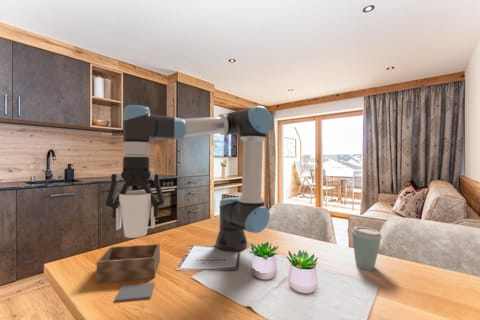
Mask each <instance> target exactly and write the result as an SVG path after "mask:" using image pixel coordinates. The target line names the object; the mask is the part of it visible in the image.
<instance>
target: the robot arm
mask: <svg viewBox="0 0 480 320" xmlns="http://www.w3.org/2000/svg"><path fill="white" fill-rule="evenodd" d="M273 123H274V122H273V117H272V115H271V113H270V112H269V110H268V108H266V107H265V106H262V105H257V106H253V105H252V106H250V107H247V108H242V109H238V110H235V111H231V112H228V113H220V114H218V116H209V117H208V116H207V117H191V118H179V117H176V116H174V117H173V116H166V115H157V114H152V113H151V110H150V108H149V107H148V106H144V105H140V104H139V105H138V104H129V105H126V106H125V107H124V108H123V118H122V127H123V128H122V130H123V131H122V137H123V139H122V141H123V142H122V155H124V156H123V158H122V172H121V173H113V174H111V176H110V177H111V184H110V187H109V191H108V195H107V199H106V202H105V206H106V207H110V208H112V219H115V231H118V230H121V228H122V214H121V207H120V202H119V194H123V195H125V193H126V192H128V190H129V189H130V187H135V186H136V187H142V189H144V190H143V191H145V192H146V193H147V194H148V193H151V205H152V206H151V207H150V229H154V228H155V226H156V218H158V216H159V207H160V206H163V205H164V203H165V199H164V194H163V192H162V191H163V190H162V186H161V184H160V183H161V182H160V173H152V172H151V171H150V157H149V155H150V142H156V141H162V140H163V141H164V140H174V141H175V140H183V139H184V138H189V137H198V136H199V137H200V136H208V135H217V134H220V135H221V136H225V135H226V136H229V135H231V136H232V135H234V136H235V135H236V136H239V139H240V140H241V141H242V172H241V174H242V177H241V196H238V197H224V198H222V199H221V200H220V202H219V231H218V234H217V237H216V240H215V247H216V248H217V249H219V250H222V251H225V252H236V251H241V250H244V249H246V248H247V246H248V240H247V236H246V233H245V231H246V232H249V233H252V234H259V233H261V232H263V231H264V230H265V229H266V227H267V226H268V224H269V222H270V218H271V214H270V211H269V209H268V208H267V207H266V206H265V199H264V198H263V197H262V186H263V185H262V183H263V182H262V181H263V180H262V179H263V148H264V146H263V145H264V144H263V143H264V142H265V140H267V134H268V133H269V132H270V131H271V129H272V127H273ZM121 178H122V179H123V181H124V184H123V185H122V188H121V190H120V191H119V193H118V195H117V196H116V192H117V189H118V185H119V181H120V180H121ZM150 178H151V180H152V181H153V184H154V186H155V192H156V195H157V196H155V194H154V192H153V191H152V189H151V187H150V184H149V183H148V180H149V179H150ZM115 196H116V197H115ZM156 197H157V198H158V199H157V198H156ZM115 198H116V199H115Z"/></svg>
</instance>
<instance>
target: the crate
mask: <svg viewBox="0 0 480 320" xmlns="http://www.w3.org/2000/svg"><path fill="white" fill-rule="evenodd" d="M160 252H161V244H160V243H155V244H153V243H151V244H139V245H138V244H137V245H122V246H121V245H120V246H109V248H108V249H107V250H106V251H105V252H104V253H103V255H102V256H101V257H100V258H99V259H98V260H97V261H96V283H97V284H99V283H100V284H101V283H107V282H108V283H109V282H110V283H111V282H121V281H134V280H143V279H146V280H147V279H155V278H156V274H157V271H158V268H159V265H160V262H161V261H160V259H161V258H160V257H161V253H160Z"/></svg>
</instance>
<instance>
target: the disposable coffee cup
mask: <svg viewBox="0 0 480 320" xmlns="http://www.w3.org/2000/svg"><path fill="white" fill-rule="evenodd" d="M351 234H352V235H351V236H352V241H353V242H352V243H353V244H352V245H353V251H354V258H355V259H354V260H355V264H356V266H357V267H359V268H360V269H364V270H367V271H369V270H371V271H372V270H374V269H375V267H376V263H377V257H378V252H379V247H380V243H381V239H382V233H381V232H380V231H378V230H376V229H373V228H370V227H365V226H353V228H352V230H351Z"/></svg>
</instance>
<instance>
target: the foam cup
mask: <svg viewBox="0 0 480 320" xmlns="http://www.w3.org/2000/svg"><path fill="white" fill-rule="evenodd" d="M118 195H119V202H120V204H119V207H121V222H122V227H123V234H124V237H125V238H127V239H128V238H130V239H135V238H141V237H145V236H146V235H147V233H148V227H149V220H150V215H151V207H152V206H151V205H152V202H151V193H148V194H147V193H146V192H145V190H132V191H127V192H126V193H125V195H123V194H119V193H118Z"/></svg>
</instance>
